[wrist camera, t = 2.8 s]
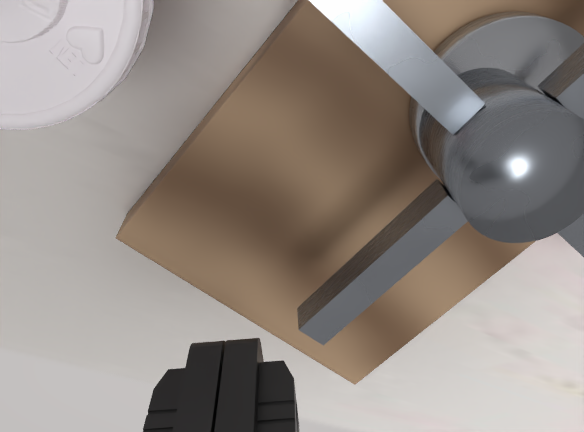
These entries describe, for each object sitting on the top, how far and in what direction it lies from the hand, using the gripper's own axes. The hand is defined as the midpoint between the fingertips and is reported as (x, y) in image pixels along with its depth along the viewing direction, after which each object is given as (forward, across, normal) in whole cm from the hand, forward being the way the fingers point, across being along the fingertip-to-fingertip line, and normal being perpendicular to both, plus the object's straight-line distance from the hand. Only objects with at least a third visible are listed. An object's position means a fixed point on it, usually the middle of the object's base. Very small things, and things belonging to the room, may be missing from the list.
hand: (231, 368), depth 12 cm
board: (+12, -6, 0) cm, 14 cm away
